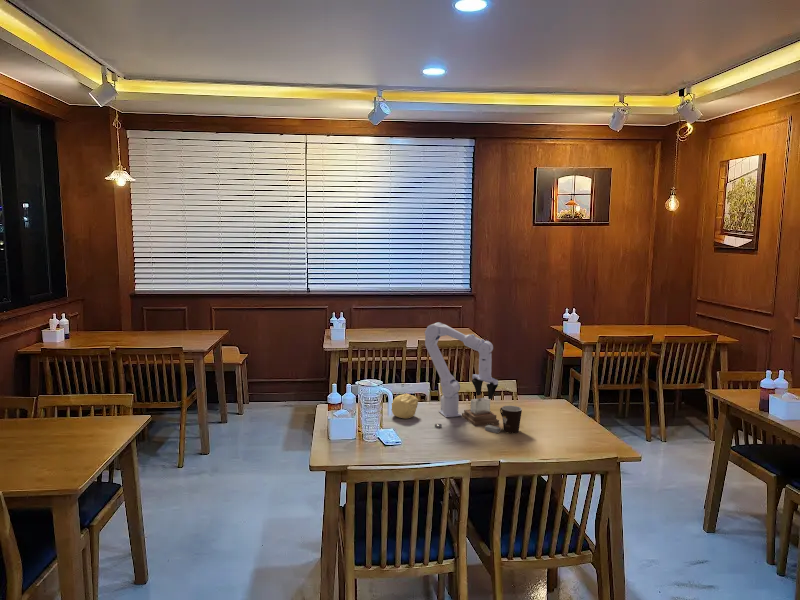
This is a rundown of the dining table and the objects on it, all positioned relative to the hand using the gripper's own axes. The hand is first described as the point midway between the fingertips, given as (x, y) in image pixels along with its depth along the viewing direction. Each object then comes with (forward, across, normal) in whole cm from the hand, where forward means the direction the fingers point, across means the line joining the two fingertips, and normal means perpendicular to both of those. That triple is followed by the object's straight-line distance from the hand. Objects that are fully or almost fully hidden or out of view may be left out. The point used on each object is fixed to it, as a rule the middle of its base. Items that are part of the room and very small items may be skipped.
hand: (484, 396), depth 257 cm
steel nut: (+11, -4, -24) cm, 27 cm away
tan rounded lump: (+11, -24, -28) cm, 38 cm away
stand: (+10, 0, -2) cm, 11 cm away
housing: (+7, 0, -2) cm, 7 cm away
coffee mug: (+11, +17, -1) cm, 20 cm away
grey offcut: (+11, +14, -8) cm, 19 cm away
